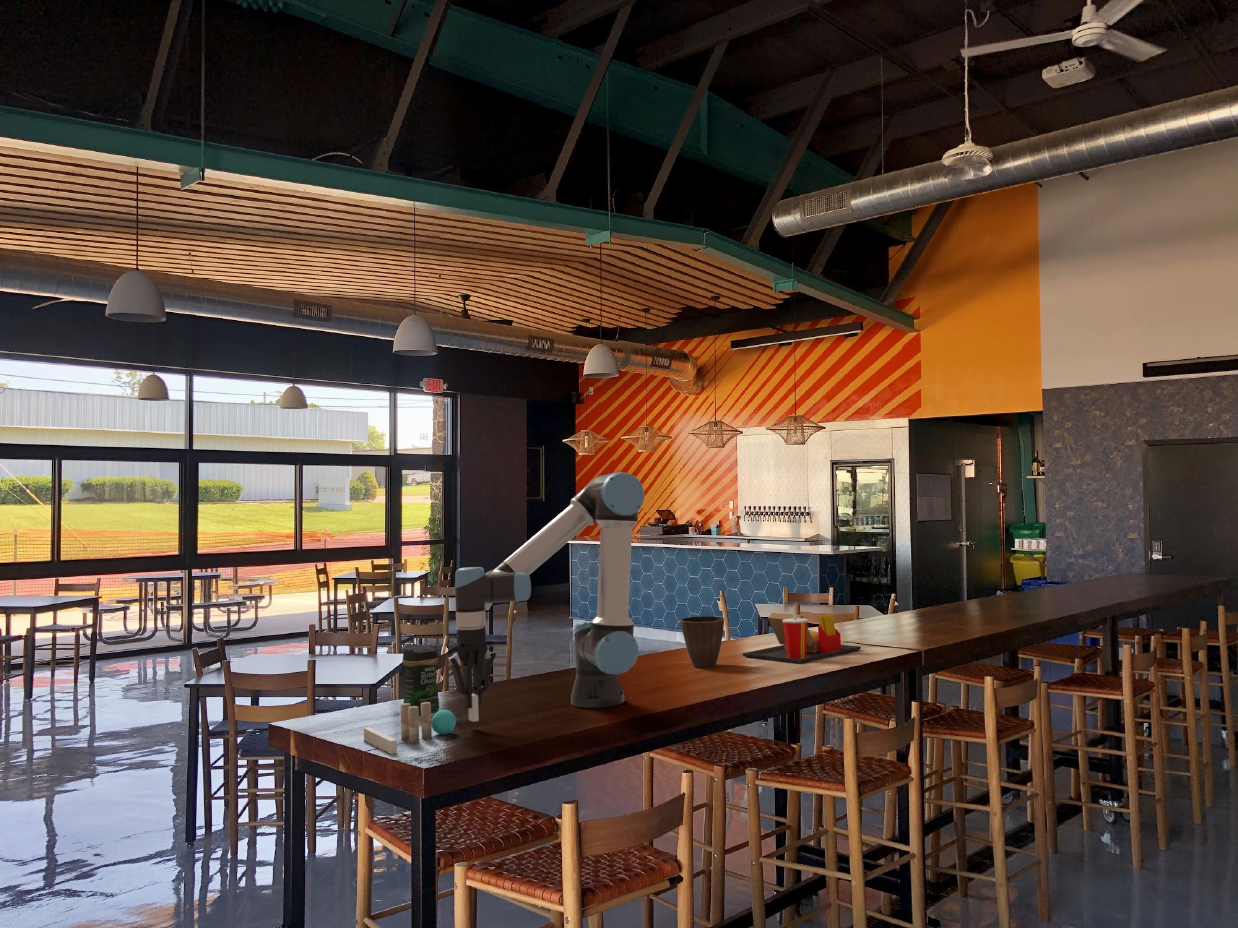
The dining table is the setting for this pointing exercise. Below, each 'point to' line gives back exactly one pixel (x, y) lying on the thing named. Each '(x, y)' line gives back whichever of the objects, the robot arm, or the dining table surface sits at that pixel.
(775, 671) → the dining table surface
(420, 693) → the coffee jar
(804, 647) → the fast food meal
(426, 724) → the front pin
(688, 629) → the plant pot
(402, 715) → the pin
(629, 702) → the dining table surface
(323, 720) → the dining table surface
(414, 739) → the pin
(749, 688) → the dining table surface
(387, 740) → the back wall
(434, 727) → the ball
